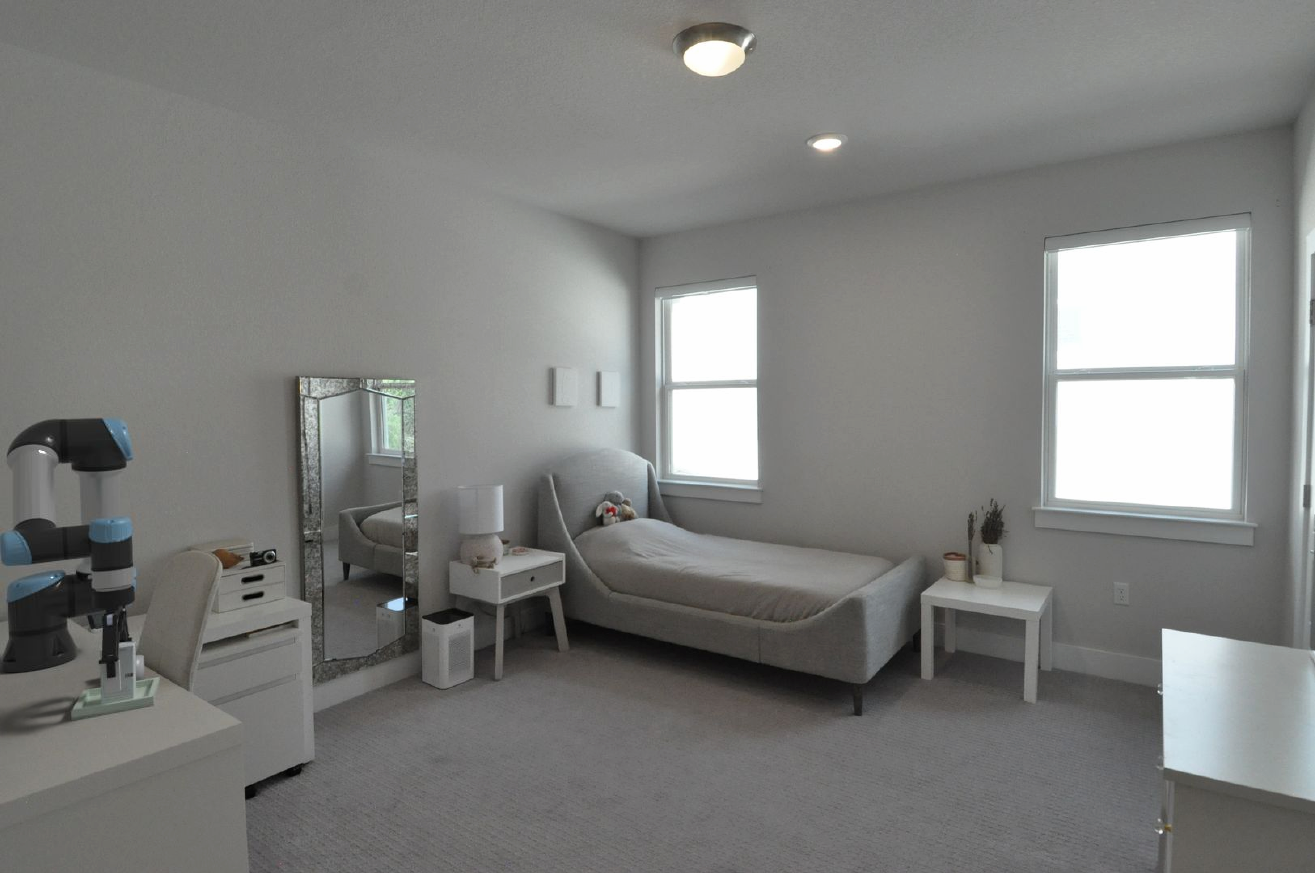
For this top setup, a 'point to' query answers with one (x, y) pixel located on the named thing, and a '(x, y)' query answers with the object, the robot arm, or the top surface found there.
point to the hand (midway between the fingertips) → (117, 681)
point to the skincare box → (122, 674)
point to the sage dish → (92, 704)
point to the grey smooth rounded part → (140, 668)
